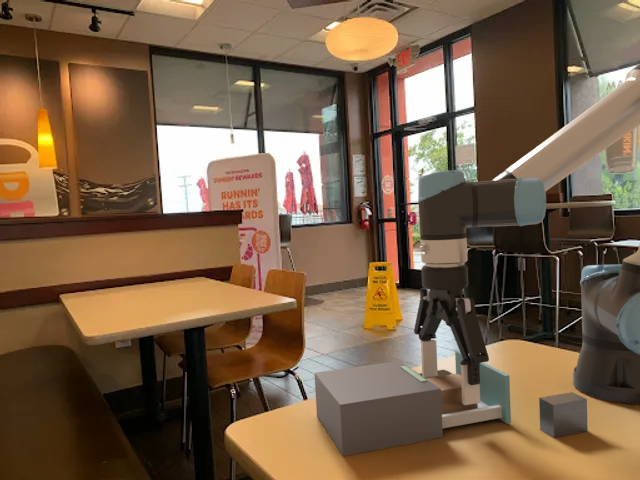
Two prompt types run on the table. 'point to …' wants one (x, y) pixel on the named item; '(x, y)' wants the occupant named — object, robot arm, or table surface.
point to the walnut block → (451, 393)
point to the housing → (377, 407)
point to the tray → (484, 398)
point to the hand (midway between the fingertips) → (449, 388)
